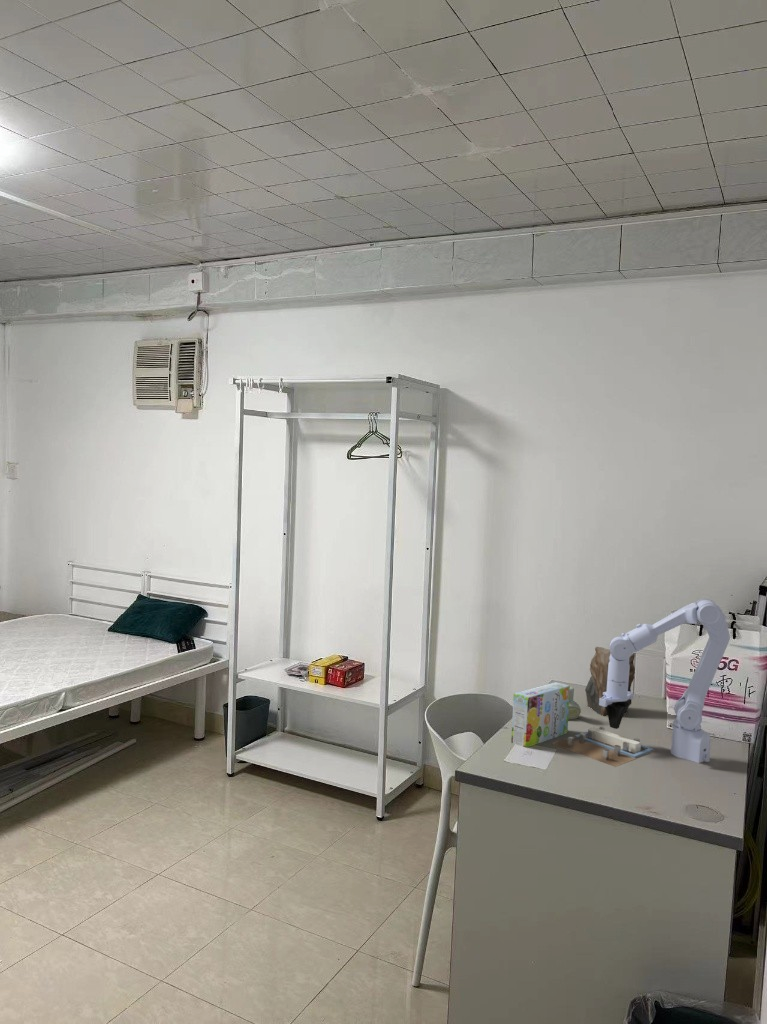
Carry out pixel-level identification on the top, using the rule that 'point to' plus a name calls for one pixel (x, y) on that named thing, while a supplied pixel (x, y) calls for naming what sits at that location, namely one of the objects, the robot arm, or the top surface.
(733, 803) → the top surface
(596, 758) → the board
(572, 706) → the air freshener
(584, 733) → the blue bezel
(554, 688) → the snack box
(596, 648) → the brown rock
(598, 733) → the white rectangular bar
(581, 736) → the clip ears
